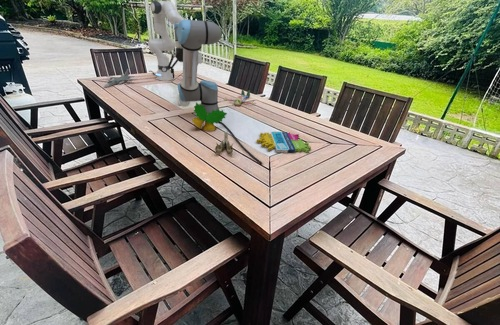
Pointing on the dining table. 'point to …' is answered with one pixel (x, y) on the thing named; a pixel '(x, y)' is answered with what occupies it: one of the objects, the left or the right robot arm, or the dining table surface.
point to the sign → (283, 142)
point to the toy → (241, 99)
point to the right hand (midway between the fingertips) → (182, 78)
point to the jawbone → (224, 145)
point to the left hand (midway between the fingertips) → (191, 67)
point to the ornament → (207, 117)
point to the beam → (182, 102)
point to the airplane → (119, 79)
